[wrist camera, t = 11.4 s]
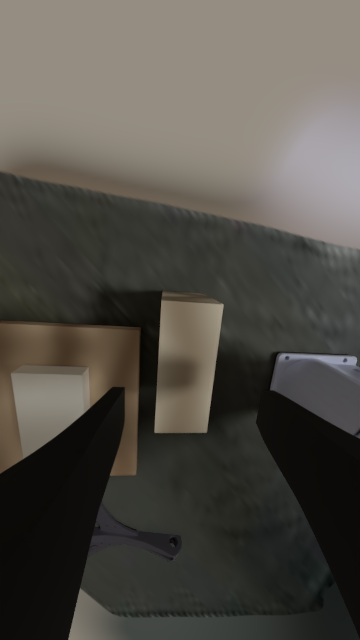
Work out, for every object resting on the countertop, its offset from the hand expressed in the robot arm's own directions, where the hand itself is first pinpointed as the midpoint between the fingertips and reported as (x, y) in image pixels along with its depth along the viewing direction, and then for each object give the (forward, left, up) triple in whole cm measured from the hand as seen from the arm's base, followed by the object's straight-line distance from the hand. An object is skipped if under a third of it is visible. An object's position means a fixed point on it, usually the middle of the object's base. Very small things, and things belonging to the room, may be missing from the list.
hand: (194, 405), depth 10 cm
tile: (+9, +8, -8) cm, 15 cm away
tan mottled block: (0, 0, -10) cm, 11 cm away
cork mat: (+12, +8, -10) cm, 18 cm away
